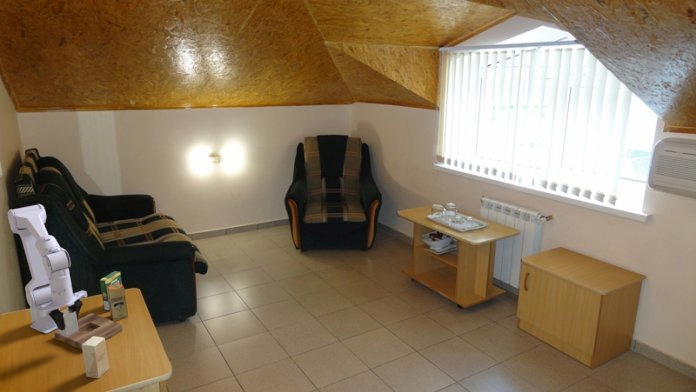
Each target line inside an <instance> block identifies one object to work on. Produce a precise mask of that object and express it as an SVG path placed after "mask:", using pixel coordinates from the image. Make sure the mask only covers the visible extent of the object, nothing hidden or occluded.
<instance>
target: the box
mask: <svg viewBox="0 0 696 392" xmlns="http://www.w3.org/2000/svg"><path fill="white" fill-rule="evenodd" d="M106 345H107V344H106V340H105V338H103V337H96V336H93V337H91V338H90V339H89V340H87V341H86V342H85V343H84V344H82V350H81V351H82V355H83V363H84V370H85V376H86V377H88V378H93V379H100V378H101V377H102V376H103V375H104V374H105V373H107V371H108V370H110V364H109V358H108V352H107V346H106Z"/></svg>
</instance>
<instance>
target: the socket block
mask: <svg viewBox="0 0 696 392" xmlns="http://www.w3.org/2000/svg"><path fill="white" fill-rule="evenodd" d="M78 328H79V330H78V331H76V332H74V333H72V334H70V335H69V336H65V335H63V334H61V333H59V329H56V330H55V331H54V332H53V333H54V339H56V340H58V341H60V342H63V343H65V344H67V345H70V346H72V347H74V348H77V349H78V350H81V351H83V350H82V344H84V343H85V342H86V341H87V340H89V339H90V338H91V337H93V336H96V337H103V338H105V341H107V340H109V339H110V338H112V337H114V336H115V335H116V336H117V335H118V334H119V333H121V332H123V326H122V324H121V323H119V322H116V321H113V320H111V319H109V318H106V317H104V316H100V315H97V314H95V313H93V312H92V313H89V314H87V315H85V316H83V317H81V318H78Z"/></svg>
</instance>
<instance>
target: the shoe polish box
mask: <svg viewBox="0 0 696 392" xmlns="http://www.w3.org/2000/svg"><path fill="white" fill-rule="evenodd" d="M125 291H126V290H125V287H124V285H123V283H118V284H113V285H109V286H107V293H108V300H109V306H110V311H109V313H110V317H111V318H112V321H114V322H116V321H119V320H123V319H127V318H128V317H129V313H128V305H127V299H126V292H125Z"/></svg>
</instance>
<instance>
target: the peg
mask: <svg viewBox="0 0 696 392" xmlns="http://www.w3.org/2000/svg"><path fill="white" fill-rule="evenodd" d="M60 312H63V324H64V330H59V329H58V330H59V333H61V334H63V335H65V336H69V335H70V334H72V333H74V332H76V331H78V330H79V328H78V322H77V316H76V311H74V310H72V309H69V308H68V307H66V308H65V309H63V310H60Z"/></svg>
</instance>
